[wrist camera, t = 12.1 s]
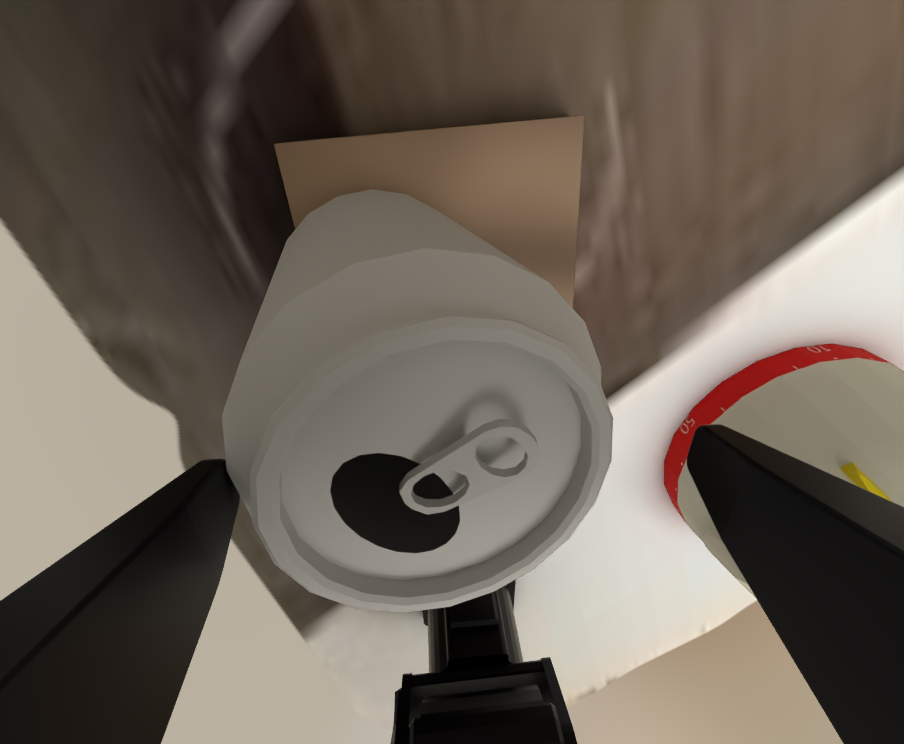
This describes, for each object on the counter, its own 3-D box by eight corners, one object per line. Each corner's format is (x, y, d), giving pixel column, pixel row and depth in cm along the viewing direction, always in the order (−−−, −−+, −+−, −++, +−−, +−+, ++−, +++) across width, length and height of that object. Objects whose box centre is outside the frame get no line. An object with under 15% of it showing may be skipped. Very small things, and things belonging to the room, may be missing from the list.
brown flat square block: (554, 356, 23) (568, 380, 21) (346, 377, 23) (338, 404, 21) (564, 116, 18) (584, 115, 16) (291, 141, 18) (273, 144, 15)
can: (231, 276, 16) (62, 524, 6) (390, 139, 15) (523, 143, 5) (368, 402, 20) (414, 688, 10) (501, 298, 19) (706, 485, 9)
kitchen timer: (870, 292, 22) (1528, 538, 9) (915, 453, 28) (1353, 743, 15) (624, 438, 26) (840, 766, 13) (710, 554, 31) (919, 858, 18)
